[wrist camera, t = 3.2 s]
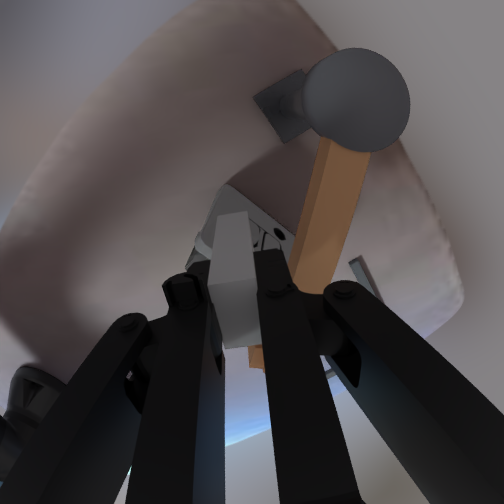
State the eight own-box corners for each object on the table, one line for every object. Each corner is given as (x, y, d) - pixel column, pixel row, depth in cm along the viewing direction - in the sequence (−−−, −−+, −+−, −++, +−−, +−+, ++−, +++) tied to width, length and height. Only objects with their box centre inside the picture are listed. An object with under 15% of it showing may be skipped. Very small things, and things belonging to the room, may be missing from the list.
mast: (283, 142, 27) (328, 171, 14) (252, 97, 25) (271, 80, 12) (328, 115, 26) (408, 123, 13) (299, 70, 24) (359, 35, 11)
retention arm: (303, 49, 12) (322, 33, 9) (383, 76, 13) (418, 71, 10) (238, 335, 19) (239, 375, 16) (302, 341, 20) (313, 380, 17)
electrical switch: (299, 238, 31) (314, 295, 23) (265, 271, 33) (268, 333, 25) (225, 179, 28) (212, 220, 20) (193, 219, 30) (171, 271, 22)
